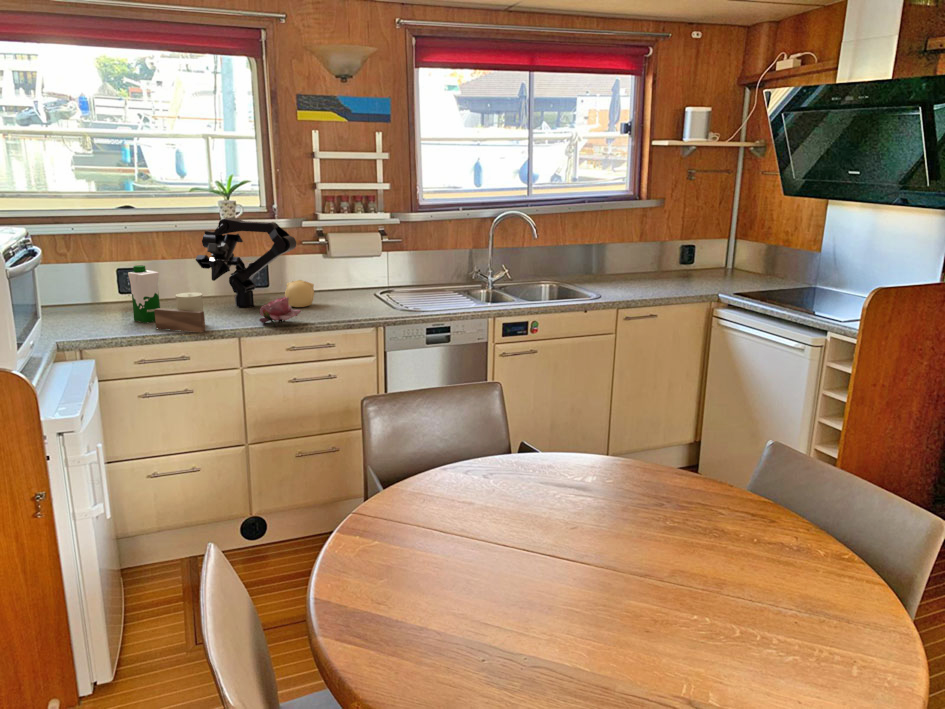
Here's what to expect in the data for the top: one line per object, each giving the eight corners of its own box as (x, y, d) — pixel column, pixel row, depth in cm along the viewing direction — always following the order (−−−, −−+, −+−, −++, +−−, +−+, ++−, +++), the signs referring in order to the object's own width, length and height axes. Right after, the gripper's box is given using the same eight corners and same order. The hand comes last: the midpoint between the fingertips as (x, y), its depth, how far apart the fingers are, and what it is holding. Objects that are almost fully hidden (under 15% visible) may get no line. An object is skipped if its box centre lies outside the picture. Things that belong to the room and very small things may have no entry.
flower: (306, 312, 288) (296, 288, 284) (298, 326, 274) (287, 301, 271) (269, 322, 290) (259, 298, 286) (259, 336, 276) (248, 311, 272)
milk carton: (150, 316, 290) (145, 264, 285) (166, 319, 286) (161, 266, 280) (130, 320, 283) (124, 267, 278) (145, 324, 278) (140, 269, 273)
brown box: (160, 327, 274) (159, 308, 272) (205, 330, 270) (204, 311, 268) (156, 328, 271) (154, 309, 270) (201, 332, 267) (199, 312, 265)
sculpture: (316, 303, 319) (315, 277, 316) (311, 309, 308) (310, 282, 305) (288, 303, 319) (287, 277, 316) (282, 309, 307) (281, 282, 304)
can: (180, 330, 270) (177, 296, 267) (175, 324, 278) (172, 292, 275) (207, 327, 275) (205, 294, 272) (201, 322, 283) (199, 290, 280)
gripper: (196, 234, 300) (181, 266, 292) (239, 236, 295) (225, 268, 288) (209, 251, 309) (195, 283, 302) (250, 254, 305) (237, 286, 297)
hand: (212, 280), depth 297 cm, fingers closed
